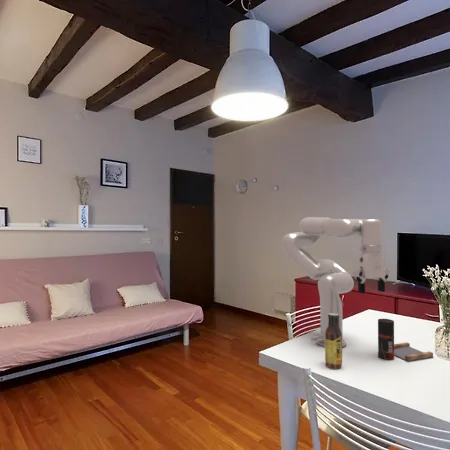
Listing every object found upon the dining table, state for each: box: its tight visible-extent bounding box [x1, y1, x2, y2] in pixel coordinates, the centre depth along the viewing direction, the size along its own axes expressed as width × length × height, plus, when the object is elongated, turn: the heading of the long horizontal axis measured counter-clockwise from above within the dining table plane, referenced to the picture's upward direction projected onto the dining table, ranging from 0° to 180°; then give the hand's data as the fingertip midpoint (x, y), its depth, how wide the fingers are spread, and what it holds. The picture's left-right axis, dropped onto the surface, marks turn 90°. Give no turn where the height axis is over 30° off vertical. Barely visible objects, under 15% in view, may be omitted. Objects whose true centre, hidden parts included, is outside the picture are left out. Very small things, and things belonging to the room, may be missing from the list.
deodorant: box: [377, 318, 395, 361], centre depth 140 cm, size 6×6×15 cm
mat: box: [394, 346, 434, 363], centre depth 144 cm, size 13×13×1 cm
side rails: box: [394, 342, 434, 363], centre depth 144 cm, size 13×13×2 cm
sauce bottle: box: [324, 313, 343, 370], centre depth 132 cm, size 7×6×20 cm
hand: (371, 292), depth 139 cm, fingers open, 9 cm apart
